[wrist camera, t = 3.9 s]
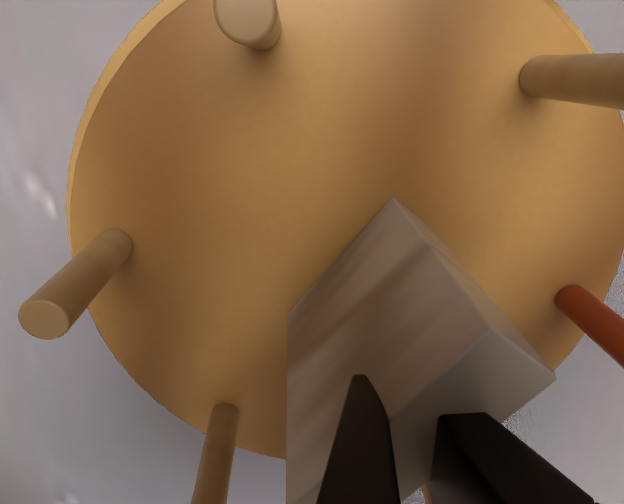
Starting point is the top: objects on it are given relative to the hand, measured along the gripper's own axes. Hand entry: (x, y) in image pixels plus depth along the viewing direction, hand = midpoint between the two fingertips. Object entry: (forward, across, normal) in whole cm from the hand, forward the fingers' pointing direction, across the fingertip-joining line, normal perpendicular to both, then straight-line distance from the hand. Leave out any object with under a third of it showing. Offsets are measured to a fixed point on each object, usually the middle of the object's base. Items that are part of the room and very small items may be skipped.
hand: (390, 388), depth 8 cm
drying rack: (+6, 0, 0) cm, 6 cm away
